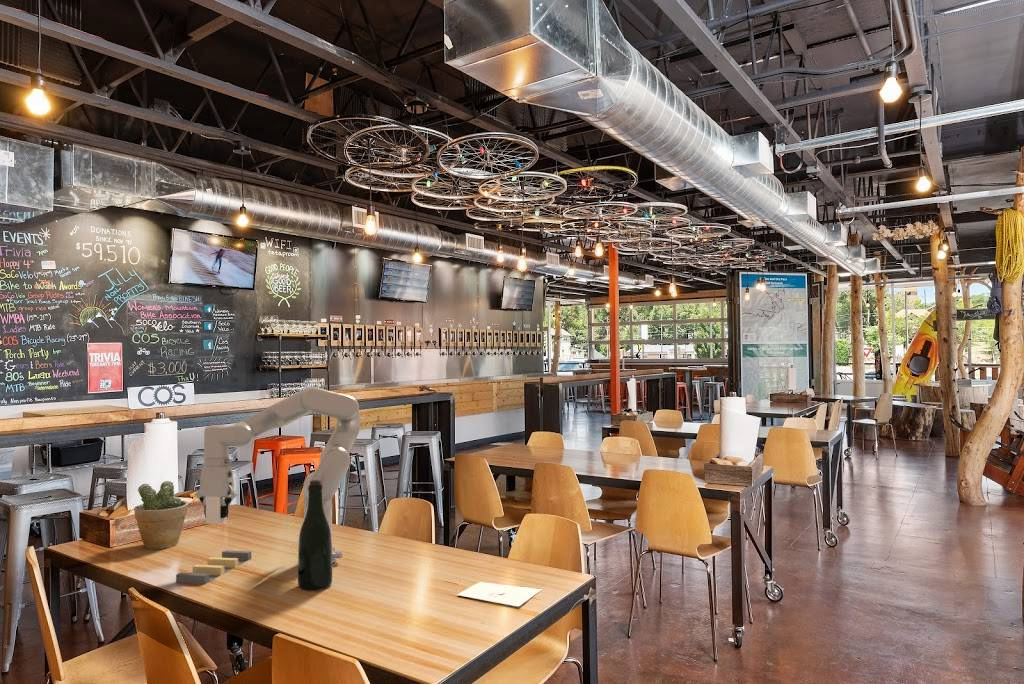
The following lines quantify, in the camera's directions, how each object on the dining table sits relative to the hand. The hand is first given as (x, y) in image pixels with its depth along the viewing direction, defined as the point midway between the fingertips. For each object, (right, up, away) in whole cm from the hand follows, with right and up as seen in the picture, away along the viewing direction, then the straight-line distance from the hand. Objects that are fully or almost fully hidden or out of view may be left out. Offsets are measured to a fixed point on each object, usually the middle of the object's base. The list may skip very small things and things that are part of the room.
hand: (216, 516), depth 212 cm
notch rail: (0, -19, -1) cm, 19 cm away
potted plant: (-37, -21, +34) cm, 55 cm away
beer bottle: (+37, -19, -12) cm, 43 cm away
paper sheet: (+98, -19, -15) cm, 101 cm away
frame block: (0, -2, 0) cm, 2 cm away
